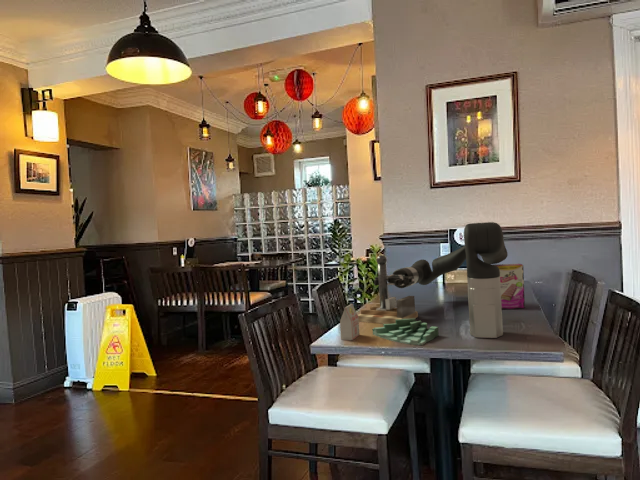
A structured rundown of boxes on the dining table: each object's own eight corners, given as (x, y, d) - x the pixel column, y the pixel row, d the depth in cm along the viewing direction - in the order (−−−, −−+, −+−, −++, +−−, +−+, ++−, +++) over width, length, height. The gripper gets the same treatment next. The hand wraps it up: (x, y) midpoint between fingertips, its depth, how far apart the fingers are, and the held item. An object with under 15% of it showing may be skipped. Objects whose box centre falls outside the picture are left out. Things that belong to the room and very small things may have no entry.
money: (444, 334, 145) (443, 318, 144) (422, 347, 132) (421, 330, 132) (387, 328, 157) (386, 314, 157) (361, 340, 144) (360, 324, 144)
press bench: (355, 321, 170) (354, 299, 170) (375, 313, 181) (373, 293, 181) (400, 325, 159) (398, 301, 159) (417, 316, 170) (416, 295, 170)
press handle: (376, 314, 170) (372, 255, 169) (383, 311, 174) (379, 254, 173) (390, 315, 166) (386, 255, 166) (396, 312, 170) (393, 254, 169)
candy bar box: (494, 309, 174) (492, 265, 173) (491, 307, 179) (488, 264, 178) (526, 308, 173) (523, 264, 172) (521, 305, 178) (519, 263, 177)
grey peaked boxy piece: (341, 339, 145) (339, 307, 144) (348, 334, 151) (346, 303, 150) (352, 340, 143) (350, 307, 143) (359, 334, 149) (357, 303, 149)
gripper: (388, 267, 188) (367, 272, 175) (421, 267, 180) (402, 273, 167) (389, 286, 188) (369, 292, 176) (422, 287, 180) (403, 293, 167)
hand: (385, 283), depth 171 cm, fingers open, 8 cm apart
